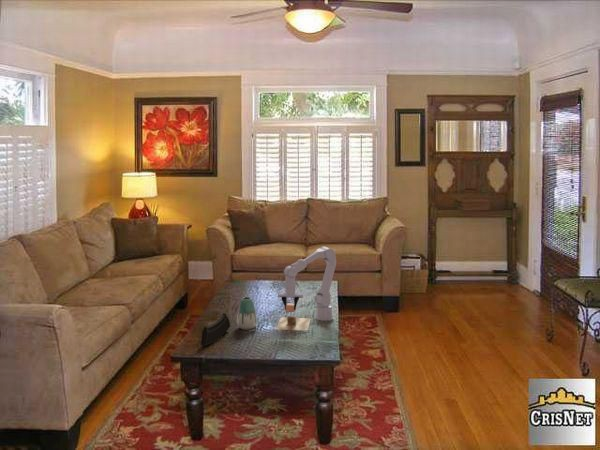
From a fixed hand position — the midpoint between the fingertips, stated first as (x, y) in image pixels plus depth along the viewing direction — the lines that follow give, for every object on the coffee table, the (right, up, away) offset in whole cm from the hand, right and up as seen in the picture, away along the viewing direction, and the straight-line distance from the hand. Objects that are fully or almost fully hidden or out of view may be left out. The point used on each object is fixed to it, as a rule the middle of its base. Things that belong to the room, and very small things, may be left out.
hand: (290, 309), depth 356 cm
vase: (-25, -10, -6) cm, 27 cm away
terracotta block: (0, -1, 0) cm, 1 cm away
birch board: (+2, -9, 0) cm, 9 cm away
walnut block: (+1, -8, -2) cm, 8 cm away
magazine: (-40, -13, -25) cm, 48 cm away
